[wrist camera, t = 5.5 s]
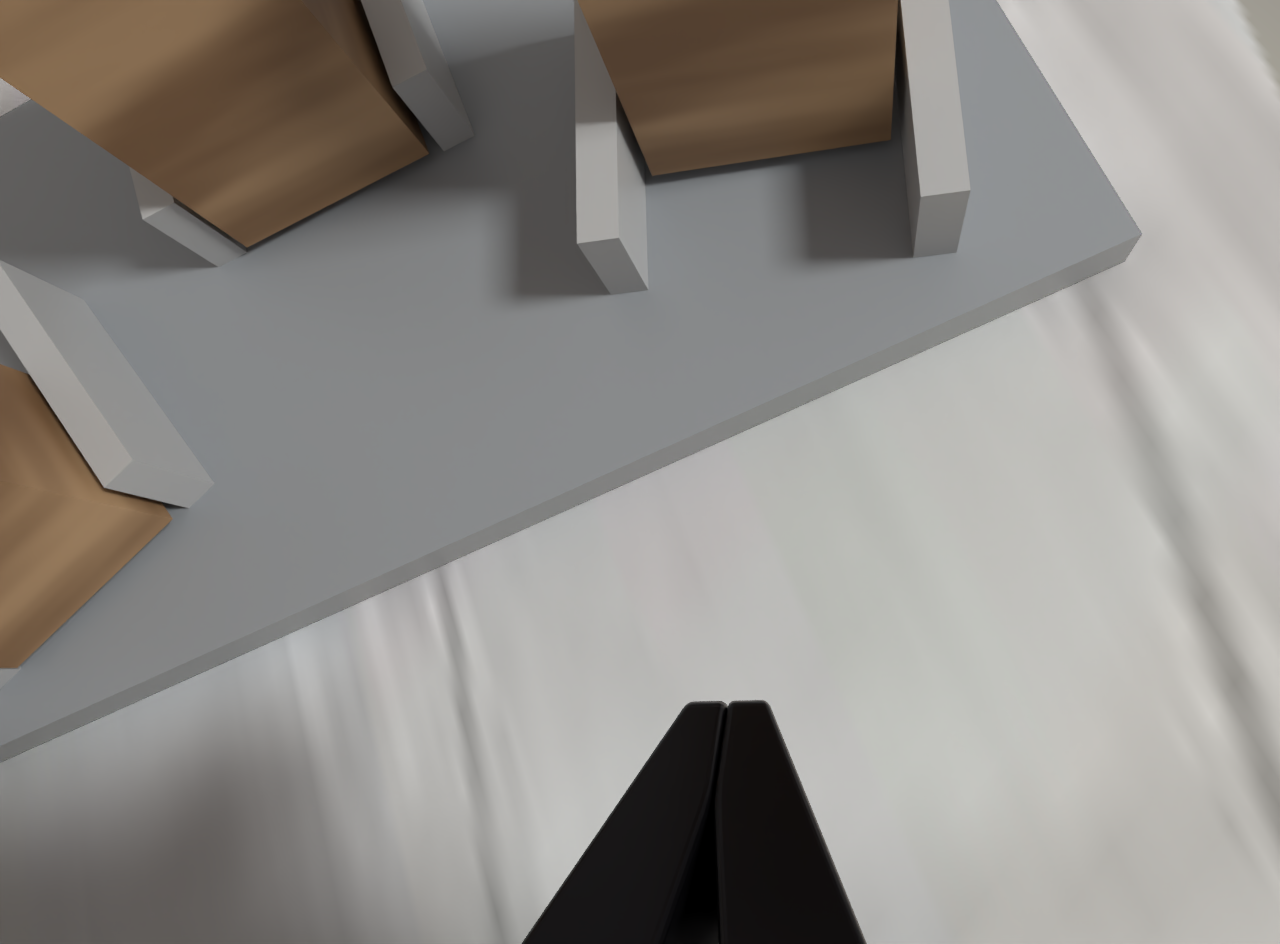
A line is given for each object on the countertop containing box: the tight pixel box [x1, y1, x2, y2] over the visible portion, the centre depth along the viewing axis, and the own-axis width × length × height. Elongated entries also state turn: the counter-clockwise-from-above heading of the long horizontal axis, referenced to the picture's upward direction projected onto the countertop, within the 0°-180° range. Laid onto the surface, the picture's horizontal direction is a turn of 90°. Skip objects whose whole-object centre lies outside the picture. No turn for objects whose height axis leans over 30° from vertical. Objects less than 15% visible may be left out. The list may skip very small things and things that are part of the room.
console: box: [0, 0, 1142, 762], centre depth 26 cm, size 20×36×4 cm, turn 111°
